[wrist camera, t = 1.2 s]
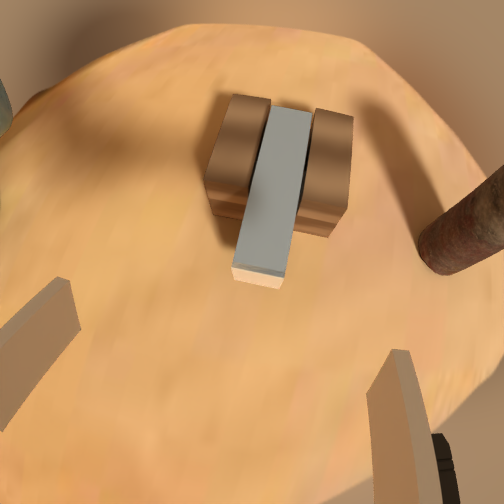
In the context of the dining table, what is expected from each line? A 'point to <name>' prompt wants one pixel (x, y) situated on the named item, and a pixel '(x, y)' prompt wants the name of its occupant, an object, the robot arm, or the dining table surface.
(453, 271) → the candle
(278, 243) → the peg
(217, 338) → the dining table surface
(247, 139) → the guide block
